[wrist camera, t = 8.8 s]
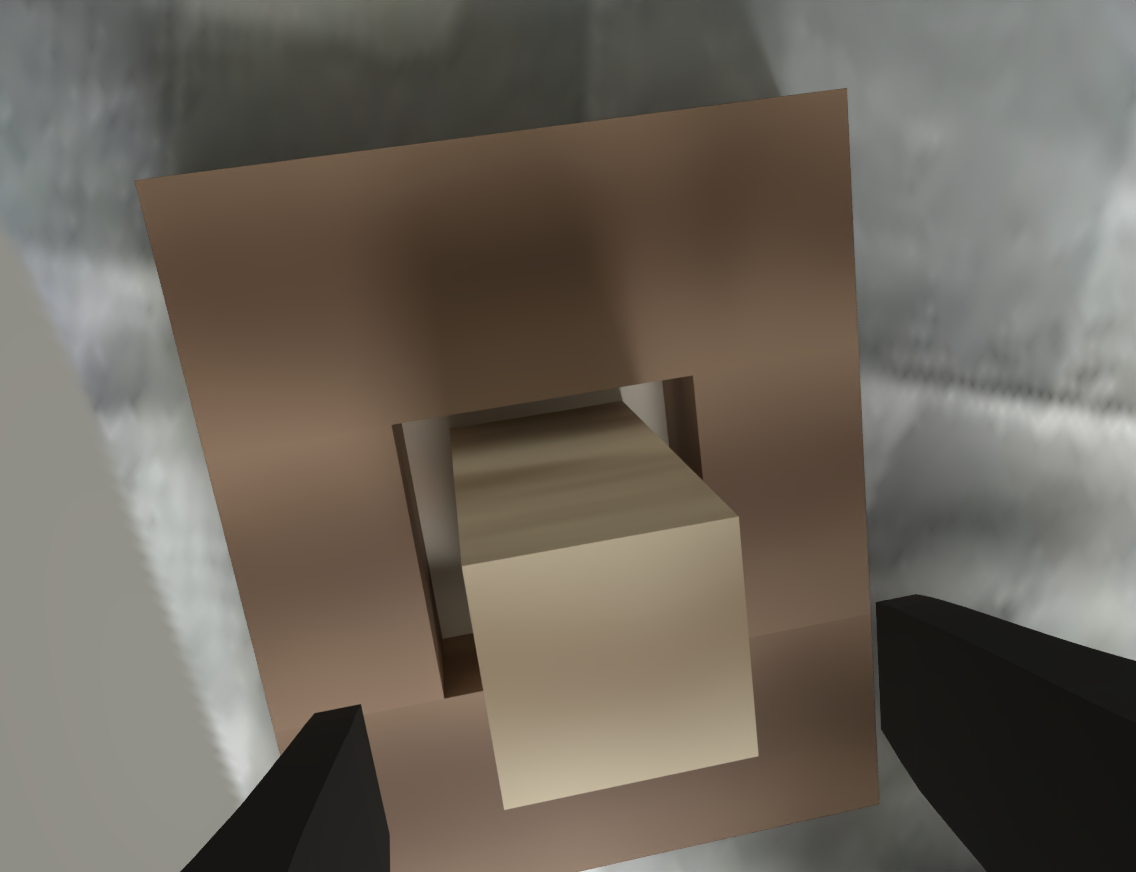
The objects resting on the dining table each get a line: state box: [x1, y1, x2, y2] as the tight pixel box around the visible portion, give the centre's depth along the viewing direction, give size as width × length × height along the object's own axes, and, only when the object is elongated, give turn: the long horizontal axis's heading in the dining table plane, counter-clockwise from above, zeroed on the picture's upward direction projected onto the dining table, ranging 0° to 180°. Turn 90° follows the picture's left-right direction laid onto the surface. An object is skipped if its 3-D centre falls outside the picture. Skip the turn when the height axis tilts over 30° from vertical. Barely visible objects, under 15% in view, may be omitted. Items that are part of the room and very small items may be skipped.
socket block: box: [134, 88, 879, 872], centre depth 19 cm, size 16×13×3 cm
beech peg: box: [450, 401, 758, 810], centre depth 17 cm, size 4×4×8 cm
